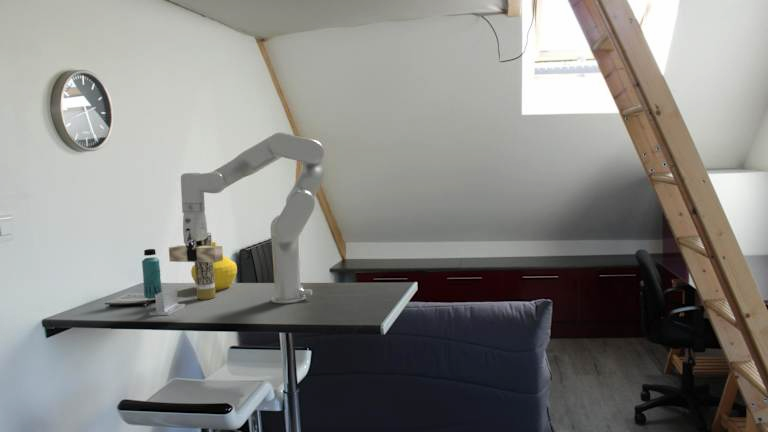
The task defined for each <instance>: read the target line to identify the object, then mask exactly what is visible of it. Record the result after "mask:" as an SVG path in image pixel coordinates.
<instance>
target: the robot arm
mask: <svg viewBox="0 0 768 432" xmlns="http://www.w3.org/2000/svg"><path fill="white" fill-rule="evenodd" d="M324 156H325V148H324V146H323V144H321V142H319V141H318V140H315V139H312V138H308V137H303V136H298V135H294V134H289V133H286V132H281V131H280V132H275V133H273V134H272V135H270V136H269V137H267V138H265V139H263V140H262V141H260V142H258V143H256V144H254V145H253V146H251V147H249V148H247V149H246V150H244V151H243V152H241V153H239V154H238V155H236V157H235V158H233V159H231V160H230V161H228V162H227V163H225V164H224V165H221V166H220V167H219V168H216V169H214V170H213V171H210V172H204V173H200V172H185V173H182V174H181V176H180V190H181V192H180V193H181V210H182V211H181V212H182V214H183V215H182V217H183V218H182V232H183V233H182V234H183V243H184V246H186V250H187V261H196V260H197V255H196V249H195V245H196V246H204V241H205V240H204V239H206V238H207V233H208V226H207V225H208V224H207V218H206V214H205V212H206V208H205V194H206V193H207V194H219V193H222V192H223V191H224V190H225V189H226V188H228V187H230V186H231V185H233V184H235V183H236V182H238V181H240V180H242V179H243V178H246V177H249V176H252V175H255V174H256V173H258V172H259V171H261V170H262V169H264V168H265V167H268V166H269V165H271V164H273V163H274V162H277V161H278V160H280V159H281V158H284V159H289V160H292V161H298V162H301V165H302V166H301V167H302V168H301V171H300V174H299V176H298V177H297V179H296V181H295V183H294V185H293V186H292V189H291V190H290V192H289V193H288V195H287V196H286V200H285V205H284V207H283V209H282V211H281V213H280V214H279V215H276V216H275V217H274V218H273V220H272V221H271V223H270V230H269V231H270V239H271V249H272V264H273V280H274V281H273V282H274V283H273V284H274V295H273V296H272V297H270V301H271V302H272V303H274V304H294V303H298V302H303V301H304V300H305V299H307V298H306V297H307V296H312V295H313V290H312V289H310V288H308V289H305V288H304V285H301V272H300V271H301V269H300V268H301V266H300V250H299V249H300V248H299V239H298V238H299V237H300V235H301V234H302V233H303V230H304V228H305V227H306V225H307V223H308V221H309V220H310V218H311V216H312V214H313V212H314V209H315V206H316V200H315V197H316V195H317V194H318V192H319V189H320V188H321V185H322V183H323V181H324V179H325V176H326V175H325V174H326V162H325V159H324Z"/></svg>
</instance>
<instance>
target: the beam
mask: <svg viewBox="0 0 768 432" xmlns="http://www.w3.org/2000/svg"><path fill="white" fill-rule="evenodd" d="M195 249H196V255H197V260H196V261H187V250H186V245H173V246H170V247H168V254H169V255H168V256H169V257H168V258H169V259H168V260H169V262H173V263H174V262H175V263H181V262H183V263H195V262H219V261H222V260H223V255H224V254H223V245H216V246H195Z"/></svg>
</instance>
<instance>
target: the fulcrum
mask: <svg viewBox="0 0 768 432" xmlns="http://www.w3.org/2000/svg"><path fill="white" fill-rule="evenodd" d="M161 291H162V292H160V293H158V294H156V295H155V298H154V299H155V309H154V310H152V311H150V312H149V316H170V315H173V314H174V313H176V312H177V311H179V310H181V309H184V308H185V307H186V303H179V298H178V297H179V296H178V288H177V287H176V288H175V287H173V288H172V287H171V288H167V289H164V290H161Z"/></svg>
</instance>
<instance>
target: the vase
mask: <svg viewBox="0 0 768 432" xmlns="http://www.w3.org/2000/svg"><path fill="white" fill-rule="evenodd" d="M212 246H217V242H216V241H212ZM213 266H214V280H215V291H219V290H220V291H221V290H225V289H227V288H229V287H230V286H231V285H232V284H233V282H234V281H235V279H236V276H237V273H238V266H237V263H236V262H235V261H233V260H231V259H230V258H228V257H227V256H225V255H224V254H223V260H222V261H219V262H213ZM190 274H191V277H192V280H193V281H194V283H195V284H196V274H195V264H193V266H192V267H191V270H190Z"/></svg>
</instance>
